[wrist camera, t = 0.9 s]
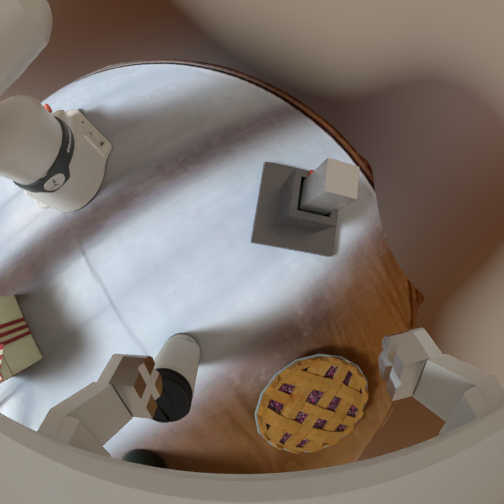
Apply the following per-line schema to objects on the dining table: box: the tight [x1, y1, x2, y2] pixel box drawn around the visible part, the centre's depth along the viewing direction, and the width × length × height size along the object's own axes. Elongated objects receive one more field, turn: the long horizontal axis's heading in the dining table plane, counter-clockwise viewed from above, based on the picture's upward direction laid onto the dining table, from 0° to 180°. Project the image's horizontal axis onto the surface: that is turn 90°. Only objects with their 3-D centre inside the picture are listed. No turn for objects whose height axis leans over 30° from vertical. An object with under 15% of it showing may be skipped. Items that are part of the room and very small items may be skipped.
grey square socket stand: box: [251, 162, 338, 257], centre depth 43 cm, size 14×14×11 cm
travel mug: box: [150, 333, 200, 422], centre depth 35 cm, size 6×7×20 cm
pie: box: [255, 354, 369, 454], centre depth 44 cm, size 22×22×5 cm
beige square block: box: [297, 158, 359, 216], centre depth 38 cm, size 4×4×17 cm
